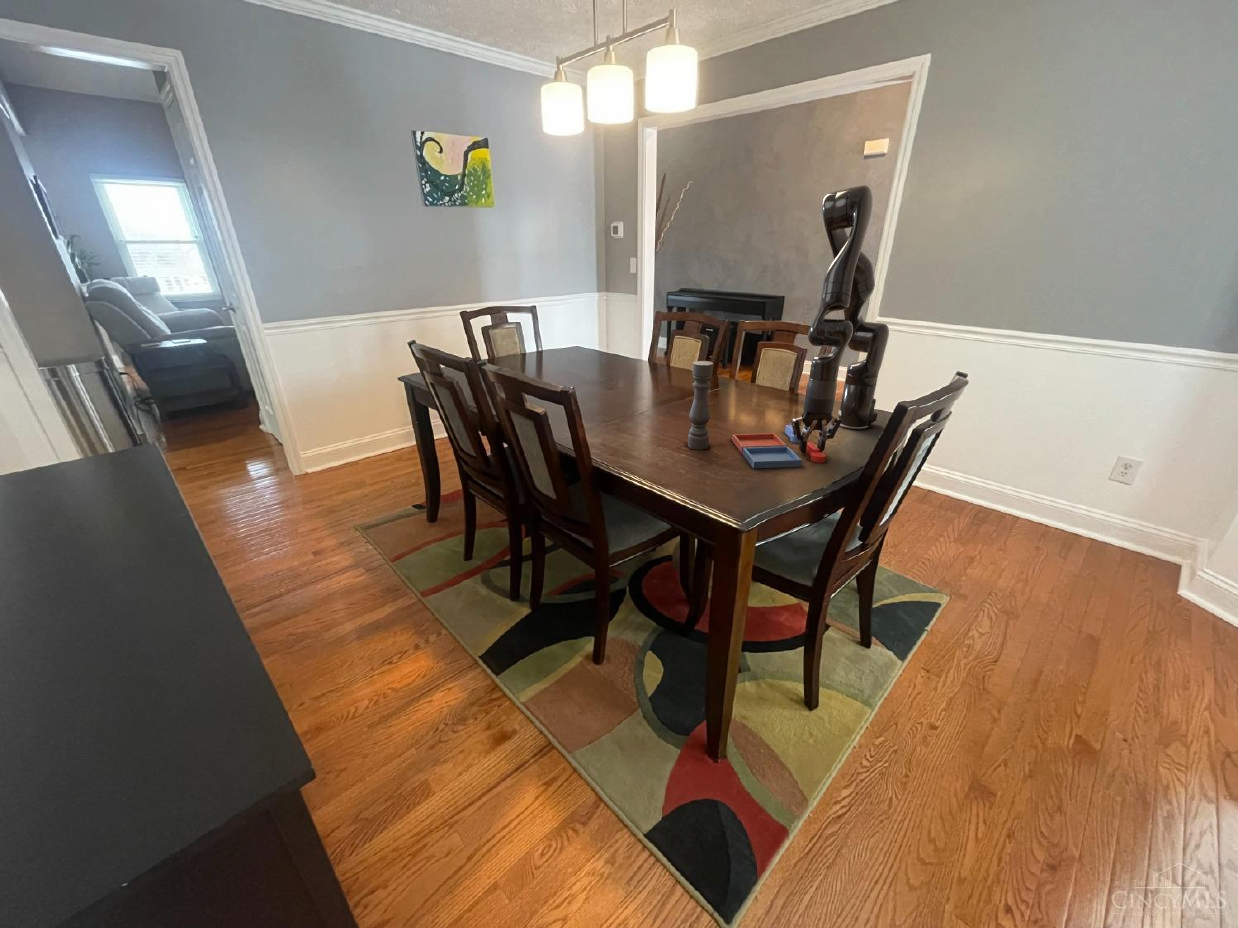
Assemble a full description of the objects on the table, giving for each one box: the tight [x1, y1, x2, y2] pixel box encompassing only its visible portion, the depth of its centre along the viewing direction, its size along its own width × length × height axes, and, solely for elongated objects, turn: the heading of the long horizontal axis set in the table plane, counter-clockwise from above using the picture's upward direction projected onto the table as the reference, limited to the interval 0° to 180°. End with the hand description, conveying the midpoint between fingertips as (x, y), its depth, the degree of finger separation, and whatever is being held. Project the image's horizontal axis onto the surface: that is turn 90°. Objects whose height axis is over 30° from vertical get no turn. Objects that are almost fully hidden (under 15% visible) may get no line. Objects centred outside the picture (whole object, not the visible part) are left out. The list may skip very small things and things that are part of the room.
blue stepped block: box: [784, 424, 800, 444], centre depth 153 cm, size 9×4×3 cm, turn 4°
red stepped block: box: [805, 441, 827, 464], centre depth 139 cm, size 9×4×3 cm, turn 4°
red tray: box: [731, 432, 788, 454], centre depth 147 cm, size 13×10×2 cm
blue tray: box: [741, 445, 803, 469], centre depth 137 cm, size 13×10×2 cm
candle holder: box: [687, 360, 714, 451], centre depth 143 cm, size 6×6×25 cm
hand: (811, 452), depth 141 cm, fingers open, 4 cm apart
